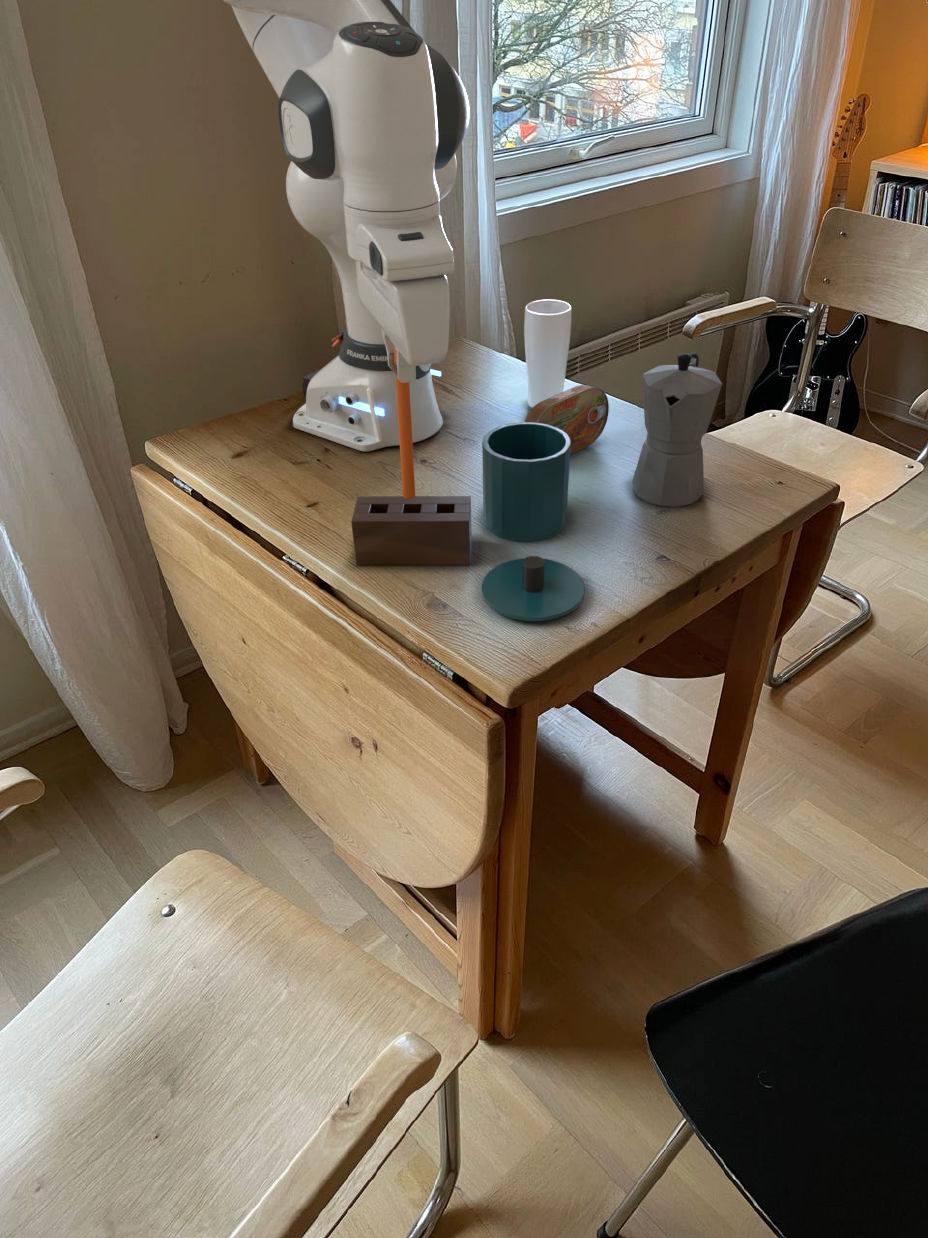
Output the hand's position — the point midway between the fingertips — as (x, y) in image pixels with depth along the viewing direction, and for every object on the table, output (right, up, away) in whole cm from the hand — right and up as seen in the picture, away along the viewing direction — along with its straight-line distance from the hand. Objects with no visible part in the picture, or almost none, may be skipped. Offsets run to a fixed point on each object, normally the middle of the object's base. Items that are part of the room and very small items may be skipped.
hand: (402, 374), depth 92 cm
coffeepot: (+33, -8, +24) cm, 42 cm away
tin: (+20, -2, +33) cm, 39 cm away
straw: (0, -11, +9) cm, 14 cm away
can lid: (+14, -22, +6) cm, 27 cm away
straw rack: (+1, -17, +13) cm, 22 cm away
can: (+14, -13, +19) cm, 26 cm away
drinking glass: (+19, +7, +45) cm, 49 cm away
